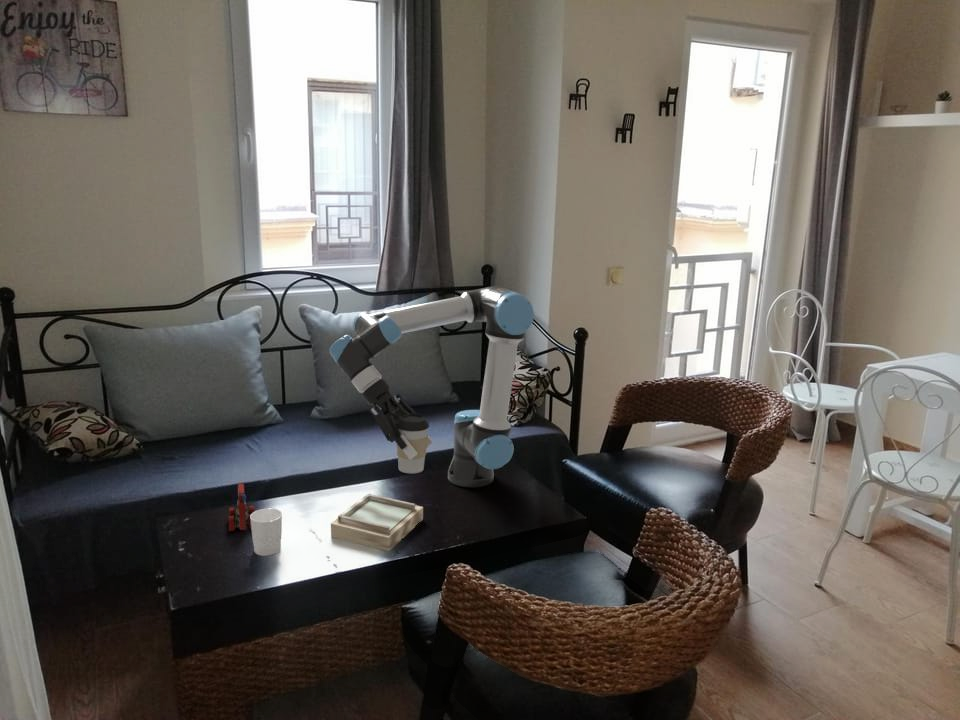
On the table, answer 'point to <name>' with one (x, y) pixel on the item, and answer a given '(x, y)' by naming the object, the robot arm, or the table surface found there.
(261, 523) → the white cup
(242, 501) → the toy fire truck
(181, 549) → the table surface
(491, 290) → the robot arm
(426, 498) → the table surface
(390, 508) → the tray
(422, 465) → the coffee cup
